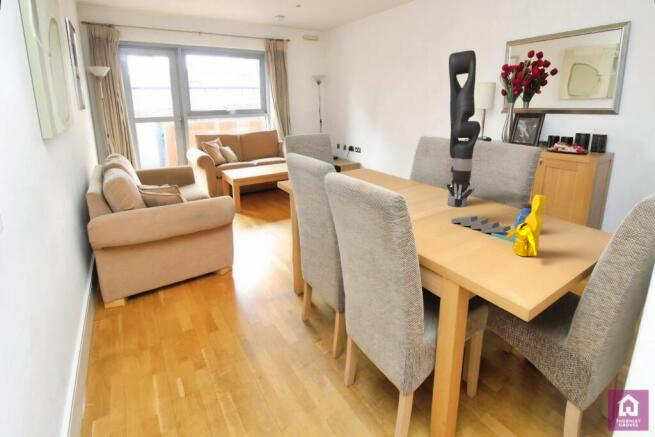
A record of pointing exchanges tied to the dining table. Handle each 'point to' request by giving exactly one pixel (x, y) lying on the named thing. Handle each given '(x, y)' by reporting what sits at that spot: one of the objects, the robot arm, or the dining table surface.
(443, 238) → the dining table surface
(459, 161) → the robot arm
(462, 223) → the tile
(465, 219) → the tile
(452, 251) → the dining table surface
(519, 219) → the perfume bottle
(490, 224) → the tile
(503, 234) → the end tile
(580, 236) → the dining table surface
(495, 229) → the tile
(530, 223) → the figure statuette
